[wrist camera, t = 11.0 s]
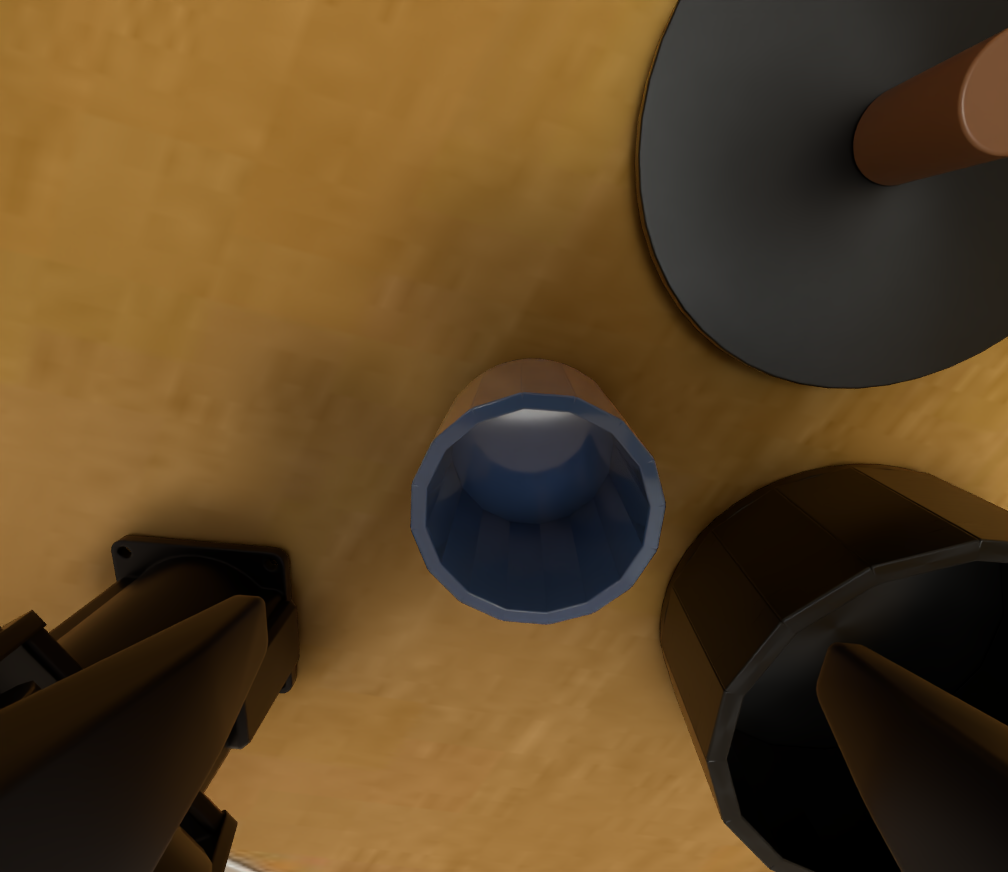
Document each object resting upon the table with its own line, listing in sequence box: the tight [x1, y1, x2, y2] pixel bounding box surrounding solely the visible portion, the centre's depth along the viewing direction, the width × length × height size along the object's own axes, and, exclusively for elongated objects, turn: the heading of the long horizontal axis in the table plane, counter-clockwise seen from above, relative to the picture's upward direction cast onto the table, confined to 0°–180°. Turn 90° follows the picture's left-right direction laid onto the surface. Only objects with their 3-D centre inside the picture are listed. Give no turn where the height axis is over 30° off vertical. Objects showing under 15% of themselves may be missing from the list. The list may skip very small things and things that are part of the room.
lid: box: [635, 0, 1008, 389], centre depth 12 cm, size 14×14×5 cm
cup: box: [410, 358, 666, 625], centre depth 15 cm, size 6×6×6 cm
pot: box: [660, 464, 1008, 872], centre depth 17 cm, size 13×13×6 cm
